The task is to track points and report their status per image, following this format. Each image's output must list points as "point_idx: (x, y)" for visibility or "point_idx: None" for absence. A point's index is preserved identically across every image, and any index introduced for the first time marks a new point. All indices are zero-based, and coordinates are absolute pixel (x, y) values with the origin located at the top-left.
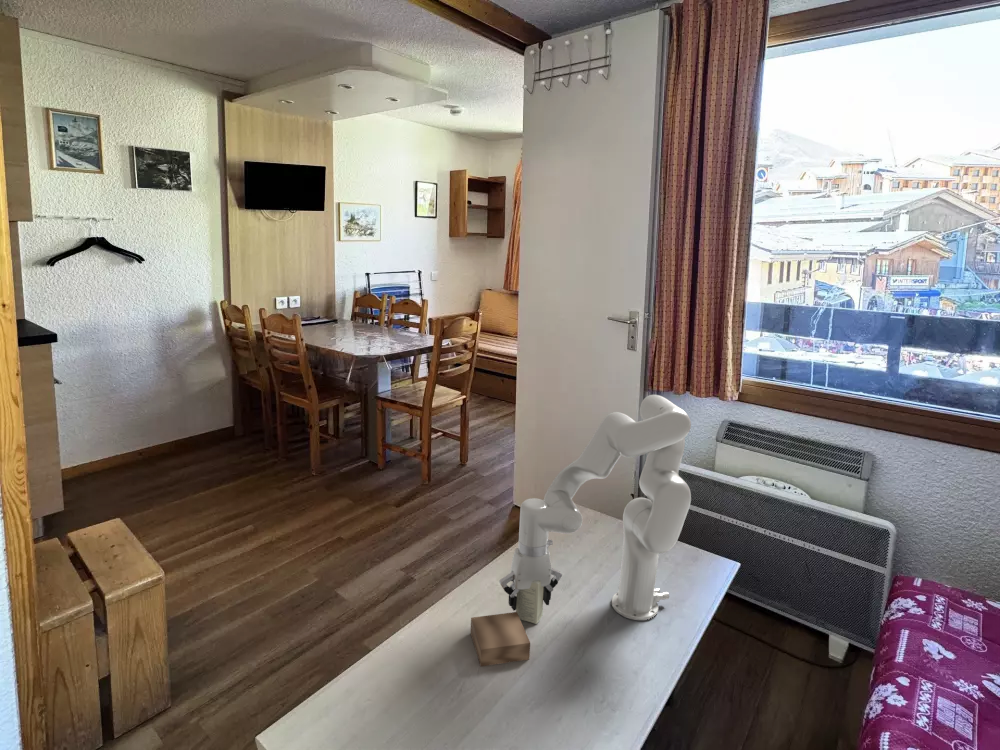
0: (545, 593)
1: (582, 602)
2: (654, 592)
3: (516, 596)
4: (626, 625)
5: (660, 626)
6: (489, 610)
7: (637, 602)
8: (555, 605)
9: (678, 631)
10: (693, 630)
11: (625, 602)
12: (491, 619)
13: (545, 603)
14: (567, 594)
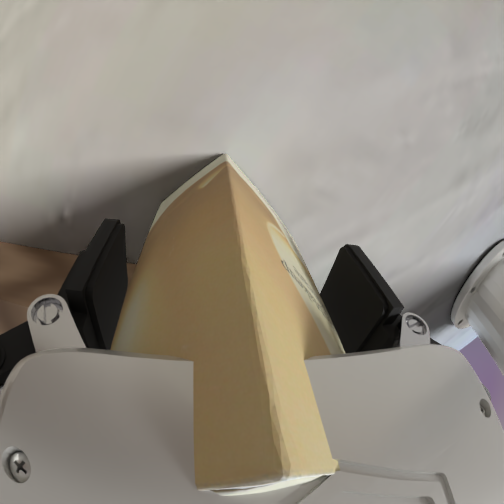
0: (352, 325)
1: (453, 225)
2: None
3: (126, 294)
4: (431, 328)
5: (455, 335)
6: (55, 110)
7: (480, 339)
8: (387, 197)
9: (455, 346)
10: (464, 345)
11: (478, 319)
12: (9, 322)
13: (324, 286)
14: (457, 163)
